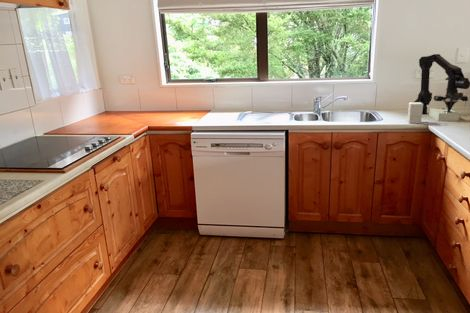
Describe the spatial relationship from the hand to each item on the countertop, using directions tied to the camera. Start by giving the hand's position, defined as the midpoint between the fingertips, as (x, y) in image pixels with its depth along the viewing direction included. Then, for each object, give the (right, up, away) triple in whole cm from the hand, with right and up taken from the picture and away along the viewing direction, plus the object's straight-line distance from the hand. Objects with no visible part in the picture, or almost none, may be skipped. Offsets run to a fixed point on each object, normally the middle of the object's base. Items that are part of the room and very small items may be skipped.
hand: (448, 111), depth 239 cm
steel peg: (0, -5, +1) cm, 5 cm away
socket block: (0, -3, +7) cm, 8 cm away
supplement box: (-24, -8, -2) cm, 25 cm away
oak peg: (+2, -1, +13) cm, 13 cm away
